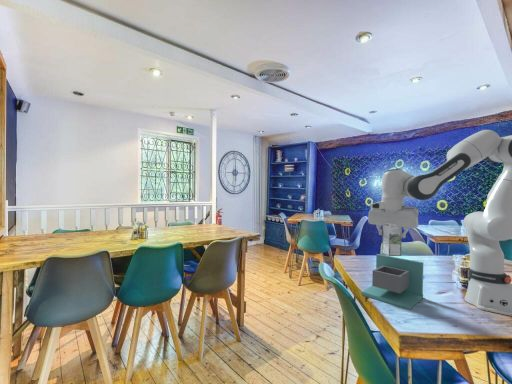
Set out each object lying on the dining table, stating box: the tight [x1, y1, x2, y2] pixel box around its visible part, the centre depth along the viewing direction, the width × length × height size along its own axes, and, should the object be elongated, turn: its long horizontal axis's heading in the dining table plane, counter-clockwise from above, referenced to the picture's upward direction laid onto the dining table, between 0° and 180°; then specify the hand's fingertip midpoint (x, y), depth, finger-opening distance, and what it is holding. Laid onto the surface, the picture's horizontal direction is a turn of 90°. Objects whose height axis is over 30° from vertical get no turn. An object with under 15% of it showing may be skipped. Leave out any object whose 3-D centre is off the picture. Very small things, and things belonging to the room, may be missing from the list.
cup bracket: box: [361, 253, 424, 311], centre depth 120 cm, size 20×18×16 cm
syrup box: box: [381, 222, 403, 257], centre depth 119 cm, size 6×6×14 cm
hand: (391, 236), depth 119 cm, fingers closed on syrup box, 8 cm apart
